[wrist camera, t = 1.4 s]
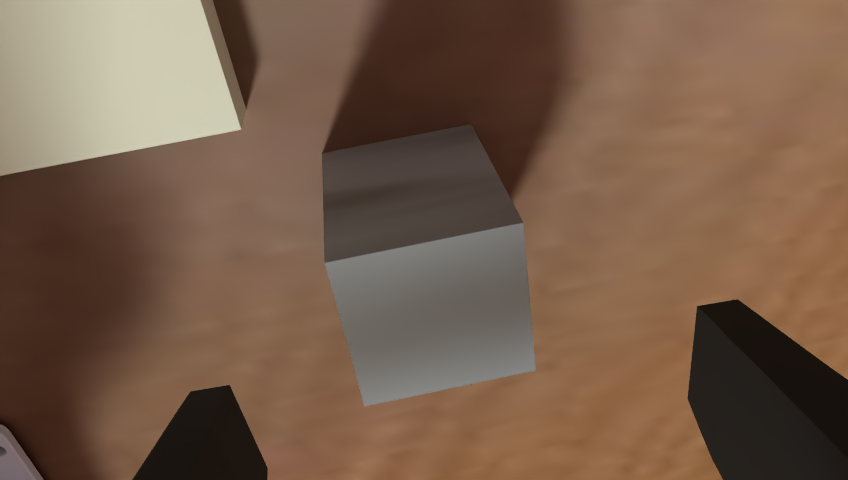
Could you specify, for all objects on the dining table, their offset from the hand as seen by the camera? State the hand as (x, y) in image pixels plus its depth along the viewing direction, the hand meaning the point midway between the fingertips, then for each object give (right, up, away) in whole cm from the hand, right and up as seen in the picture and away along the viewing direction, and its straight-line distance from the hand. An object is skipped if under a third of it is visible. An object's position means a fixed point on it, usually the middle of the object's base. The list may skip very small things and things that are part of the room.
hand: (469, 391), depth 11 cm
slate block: (-1, +3, +11) cm, 11 cm away
